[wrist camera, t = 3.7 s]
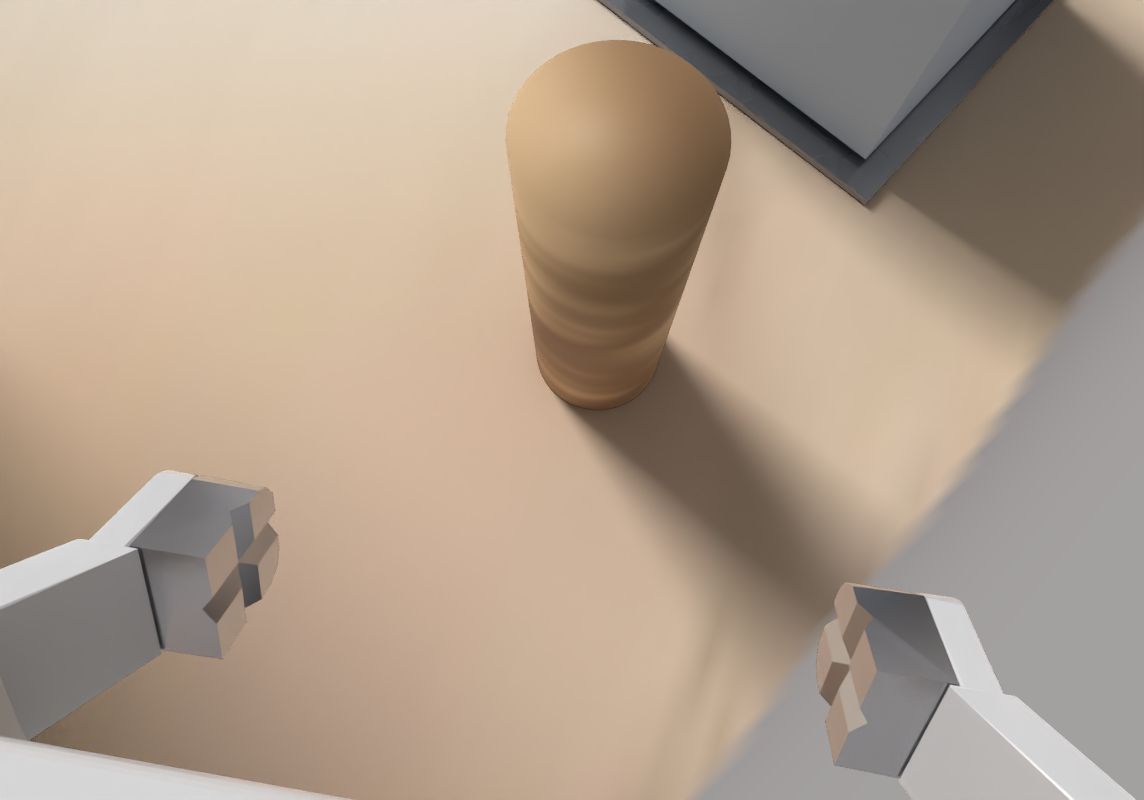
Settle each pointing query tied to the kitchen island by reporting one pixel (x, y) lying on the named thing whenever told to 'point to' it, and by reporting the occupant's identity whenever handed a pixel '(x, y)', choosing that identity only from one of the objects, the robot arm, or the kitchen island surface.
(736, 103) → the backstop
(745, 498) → the kitchen island surface
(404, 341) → the kitchen island surface
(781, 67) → the socket block
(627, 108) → the dowel
